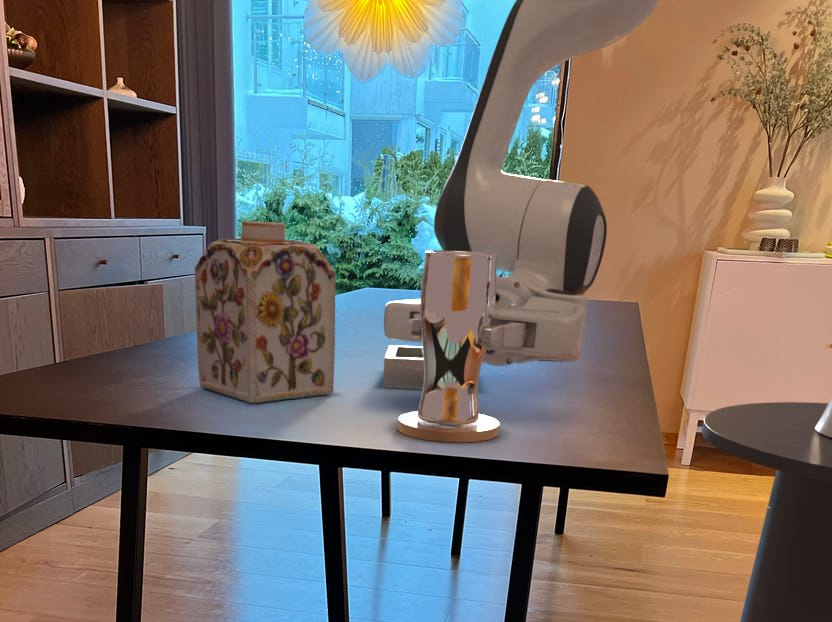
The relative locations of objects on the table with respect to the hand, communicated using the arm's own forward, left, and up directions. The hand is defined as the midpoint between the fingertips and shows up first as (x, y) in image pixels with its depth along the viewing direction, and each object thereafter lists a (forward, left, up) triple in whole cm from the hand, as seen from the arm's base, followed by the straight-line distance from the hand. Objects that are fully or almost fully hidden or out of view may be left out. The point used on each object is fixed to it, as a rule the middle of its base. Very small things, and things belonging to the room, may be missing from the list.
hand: (450, 334), depth 84 cm
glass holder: (+2, -28, -9) cm, 30 cm away
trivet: (0, -1, -9) cm, 9 cm away
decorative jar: (+21, -17, -9) cm, 28 cm away
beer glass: (0, -1, -8) cm, 8 cm away
